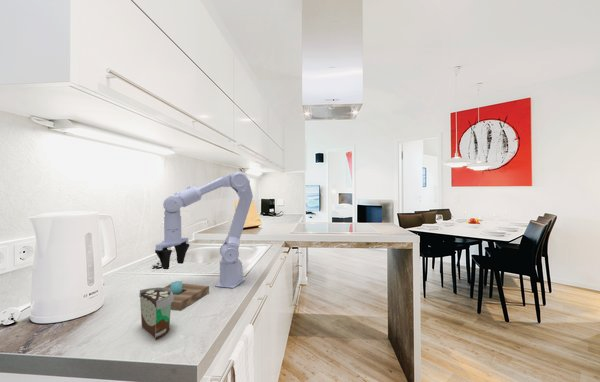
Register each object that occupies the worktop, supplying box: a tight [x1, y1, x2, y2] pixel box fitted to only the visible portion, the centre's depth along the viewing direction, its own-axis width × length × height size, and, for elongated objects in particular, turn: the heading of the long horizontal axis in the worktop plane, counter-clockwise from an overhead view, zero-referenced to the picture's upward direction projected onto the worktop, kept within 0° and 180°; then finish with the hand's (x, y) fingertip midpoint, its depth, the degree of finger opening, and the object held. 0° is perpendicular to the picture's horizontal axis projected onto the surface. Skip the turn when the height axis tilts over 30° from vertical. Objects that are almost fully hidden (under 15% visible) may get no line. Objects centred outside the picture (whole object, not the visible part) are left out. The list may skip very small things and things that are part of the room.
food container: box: [138, 287, 174, 341], centre depth 74 cm, size 12×6×10 cm, turn 48°
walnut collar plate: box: [163, 283, 210, 311], centre depth 94 cm, size 15×15×2 cm
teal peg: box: [170, 280, 183, 295], centre depth 94 cm, size 4×4×6 cm
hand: (173, 266), depth 101 cm, fingers open, 7 cm apart
